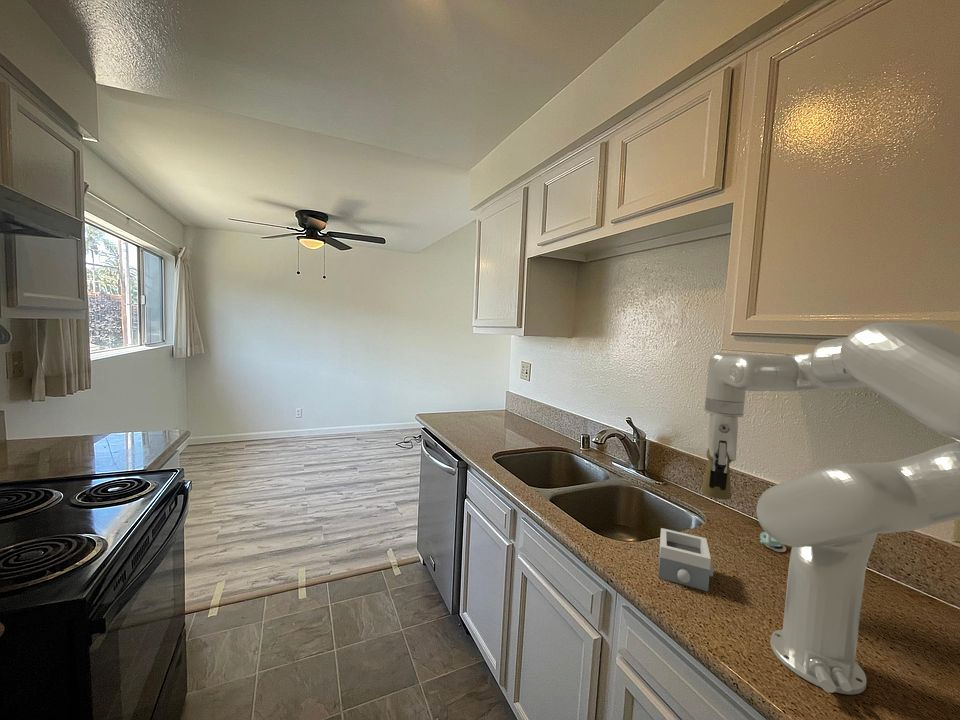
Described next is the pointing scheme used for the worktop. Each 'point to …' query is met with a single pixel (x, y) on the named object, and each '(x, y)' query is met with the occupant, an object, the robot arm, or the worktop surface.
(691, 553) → the grey plastic box
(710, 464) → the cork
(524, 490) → the worktop surface
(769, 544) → the pacifier
